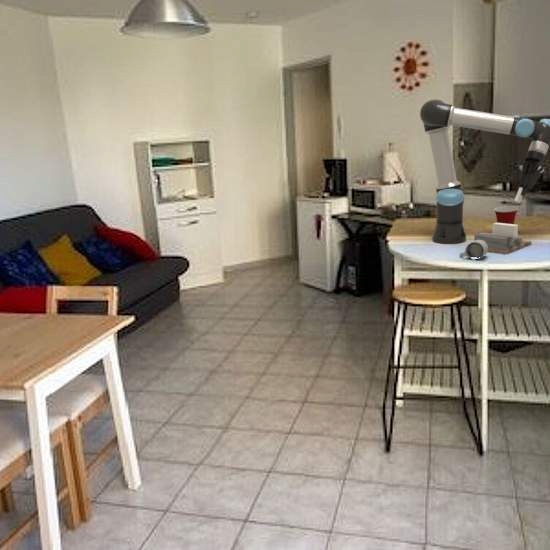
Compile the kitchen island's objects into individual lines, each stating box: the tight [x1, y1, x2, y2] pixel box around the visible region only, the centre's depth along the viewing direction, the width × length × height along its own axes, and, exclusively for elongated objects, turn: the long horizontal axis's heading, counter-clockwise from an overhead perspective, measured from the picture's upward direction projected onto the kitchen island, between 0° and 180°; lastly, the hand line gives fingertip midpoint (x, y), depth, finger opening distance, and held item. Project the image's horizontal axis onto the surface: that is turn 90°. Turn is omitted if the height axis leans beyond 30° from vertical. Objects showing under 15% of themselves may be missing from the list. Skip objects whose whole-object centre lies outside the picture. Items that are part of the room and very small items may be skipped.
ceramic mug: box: [459, 240, 488, 260], centre depth 234 cm, size 11×8×8 cm
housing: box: [473, 232, 532, 255], centre depth 248 cm, size 22×16×6 cm
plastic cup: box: [493, 205, 519, 224], centre depth 274 cm, size 11×11×12 cm
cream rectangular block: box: [491, 222, 519, 239], centre depth 249 cm, size 3×10×8 cm, turn 41°
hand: (517, 202), depth 253 cm, fingers closed
